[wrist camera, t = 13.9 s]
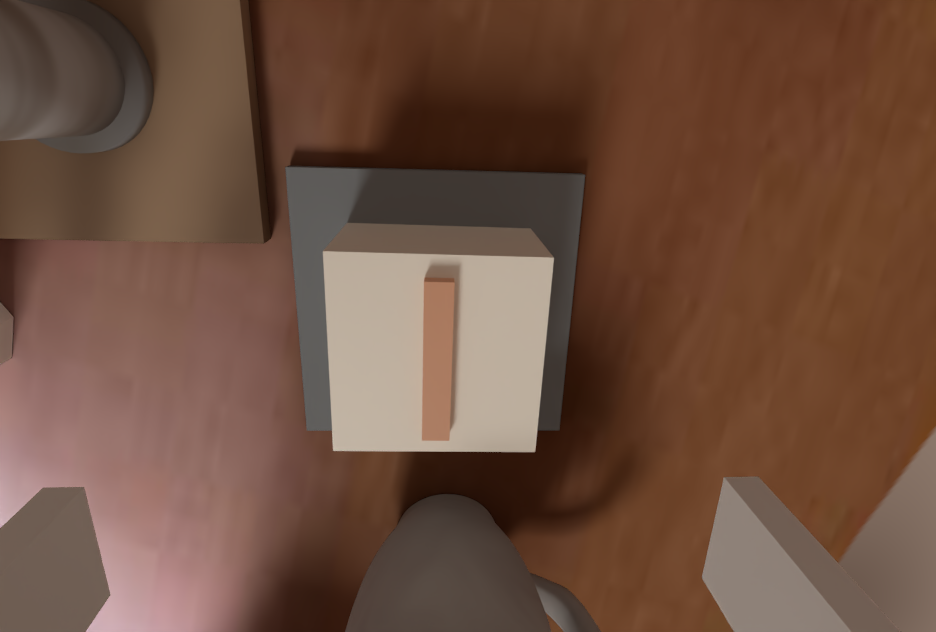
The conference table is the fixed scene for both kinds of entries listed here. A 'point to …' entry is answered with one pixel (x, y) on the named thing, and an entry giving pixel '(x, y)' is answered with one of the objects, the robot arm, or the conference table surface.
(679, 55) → the conference table surface
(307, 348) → the mat
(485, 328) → the white cube
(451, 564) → the mug
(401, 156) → the conference table surface
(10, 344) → the cup
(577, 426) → the conference table surface
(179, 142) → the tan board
